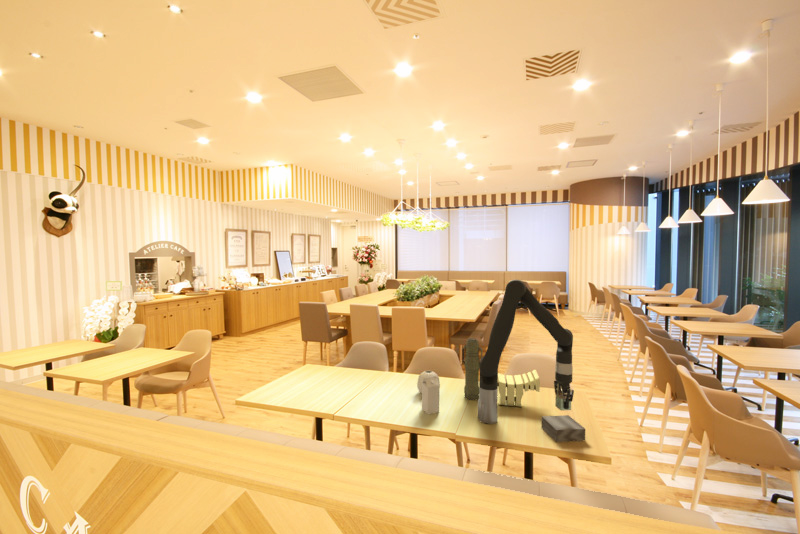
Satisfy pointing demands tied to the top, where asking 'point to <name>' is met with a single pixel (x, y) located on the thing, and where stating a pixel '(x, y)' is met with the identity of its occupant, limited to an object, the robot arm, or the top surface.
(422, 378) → the vase
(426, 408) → the milk carton
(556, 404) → the tea tin
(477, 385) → the dark green pillar
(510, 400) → the slatted curved stool
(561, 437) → the charcoal box
